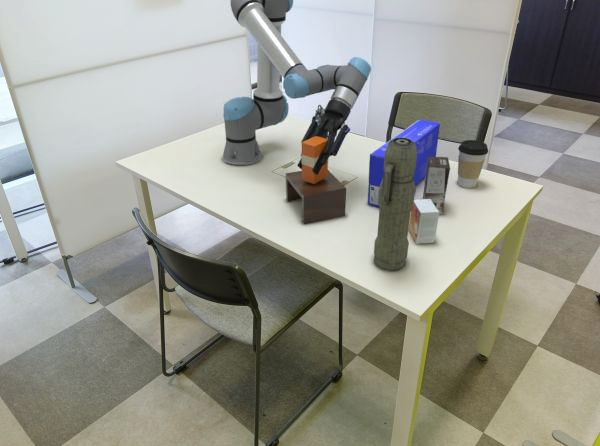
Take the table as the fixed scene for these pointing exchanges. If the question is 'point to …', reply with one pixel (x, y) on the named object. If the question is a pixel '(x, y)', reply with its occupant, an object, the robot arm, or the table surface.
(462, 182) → the coffee cup
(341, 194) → the small wooden table
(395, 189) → the thermos
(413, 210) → the small box
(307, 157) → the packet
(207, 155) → the table surface
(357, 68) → the robot arm
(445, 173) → the coffee box
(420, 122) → the blue cardboard box
